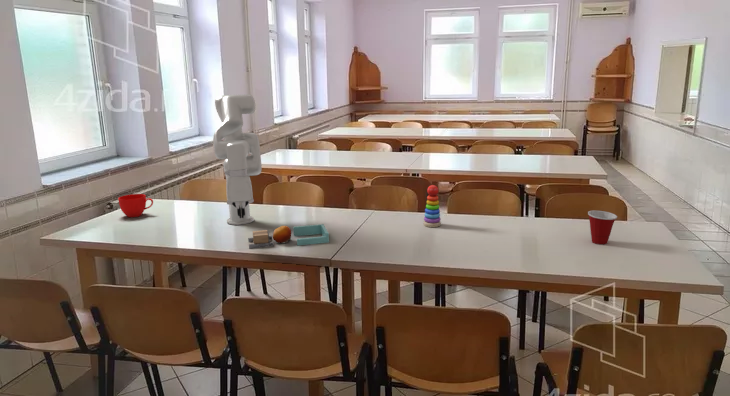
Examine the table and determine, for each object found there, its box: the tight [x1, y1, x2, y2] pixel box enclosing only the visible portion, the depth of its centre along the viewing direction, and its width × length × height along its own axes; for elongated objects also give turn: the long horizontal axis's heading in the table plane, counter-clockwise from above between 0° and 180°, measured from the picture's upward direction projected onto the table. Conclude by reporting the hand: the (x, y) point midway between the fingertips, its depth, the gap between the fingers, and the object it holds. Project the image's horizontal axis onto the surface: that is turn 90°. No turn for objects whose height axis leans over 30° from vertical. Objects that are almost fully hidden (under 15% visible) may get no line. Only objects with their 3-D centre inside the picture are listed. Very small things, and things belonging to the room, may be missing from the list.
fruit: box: [272, 225, 292, 244], centre depth 227 cm, size 8×8×8 cm
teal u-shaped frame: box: [292, 223, 330, 246], centre depth 230 cm, size 14×13×4 cm
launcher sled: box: [252, 229, 271, 244], centre depth 225 cm, size 7×7×4 cm
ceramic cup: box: [118, 193, 154, 218], centre depth 275 cm, size 13×17×10 cm
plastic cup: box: [587, 210, 618, 245], centre depth 214 cm, size 11×11×12 cm
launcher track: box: [248, 235, 275, 249], centre depth 225 cm, size 10×10×2 cm
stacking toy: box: [423, 184, 442, 228], centre depth 243 cm, size 8×8×19 cm
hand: (241, 217), depth 221 cm, fingers closed
